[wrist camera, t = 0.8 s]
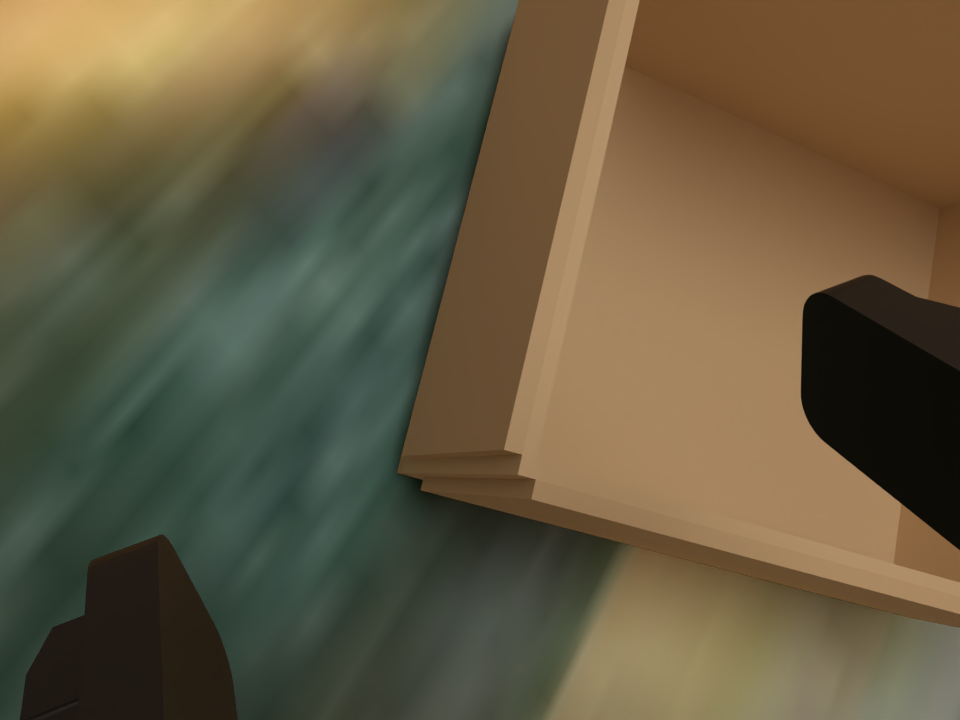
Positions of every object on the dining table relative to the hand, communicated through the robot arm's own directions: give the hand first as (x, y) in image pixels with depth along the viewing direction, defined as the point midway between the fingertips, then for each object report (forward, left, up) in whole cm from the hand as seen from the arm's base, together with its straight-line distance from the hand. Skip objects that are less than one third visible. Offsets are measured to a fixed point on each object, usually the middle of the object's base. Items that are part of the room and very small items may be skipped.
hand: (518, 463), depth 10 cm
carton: (+11, +16, -22) cm, 29 cm away
